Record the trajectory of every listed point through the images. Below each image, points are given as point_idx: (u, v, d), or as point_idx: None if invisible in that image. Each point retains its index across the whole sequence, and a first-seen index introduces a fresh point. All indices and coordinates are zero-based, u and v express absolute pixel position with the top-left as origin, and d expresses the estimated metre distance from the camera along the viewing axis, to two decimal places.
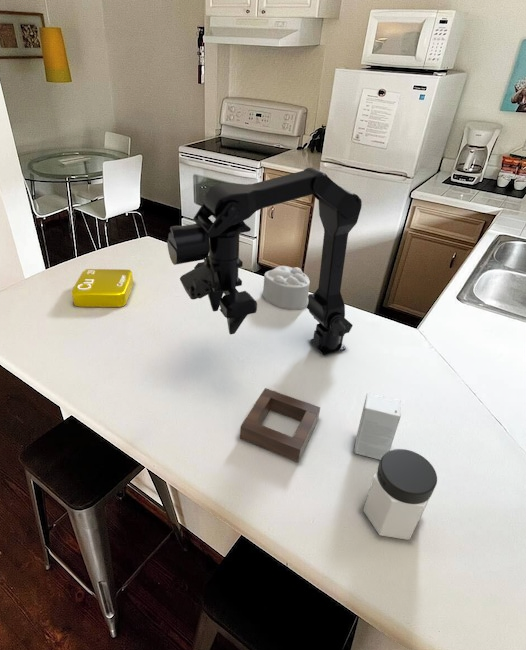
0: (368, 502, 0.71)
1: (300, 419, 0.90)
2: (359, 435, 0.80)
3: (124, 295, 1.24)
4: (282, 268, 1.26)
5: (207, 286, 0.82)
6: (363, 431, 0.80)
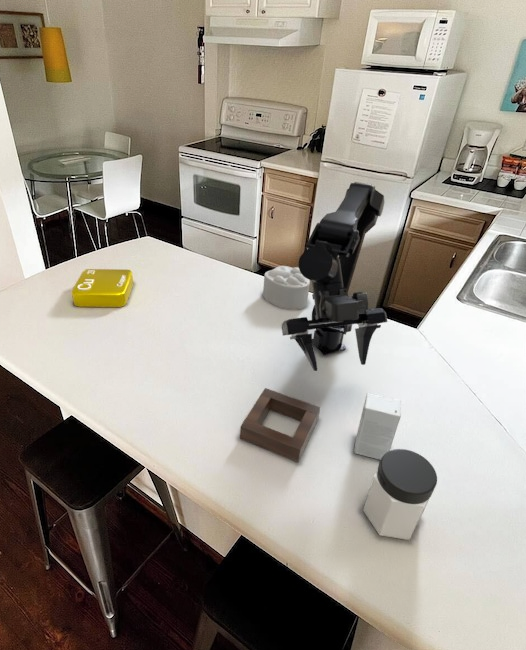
0: (368, 502, 0.71)
1: (300, 419, 0.90)
2: (359, 435, 0.80)
3: (124, 295, 1.24)
4: (282, 268, 1.26)
5: None
6: (363, 431, 0.80)
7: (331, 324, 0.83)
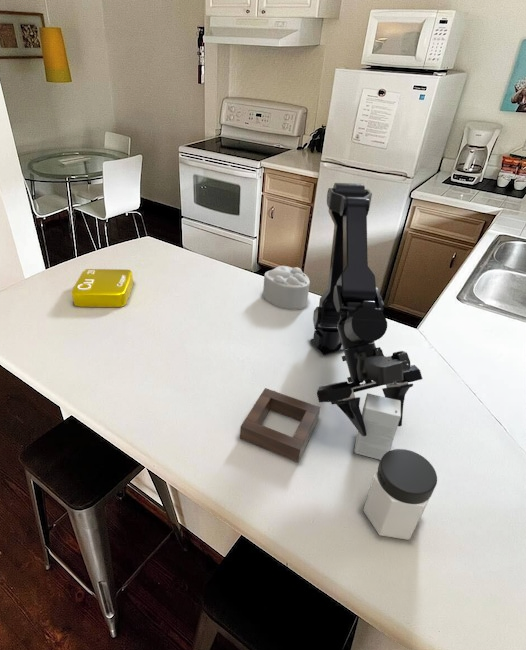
0: (368, 502, 0.71)
1: (300, 419, 0.90)
2: (359, 435, 0.80)
3: (124, 295, 1.24)
4: (282, 268, 1.26)
5: None
6: None
7: (364, 387, 0.80)
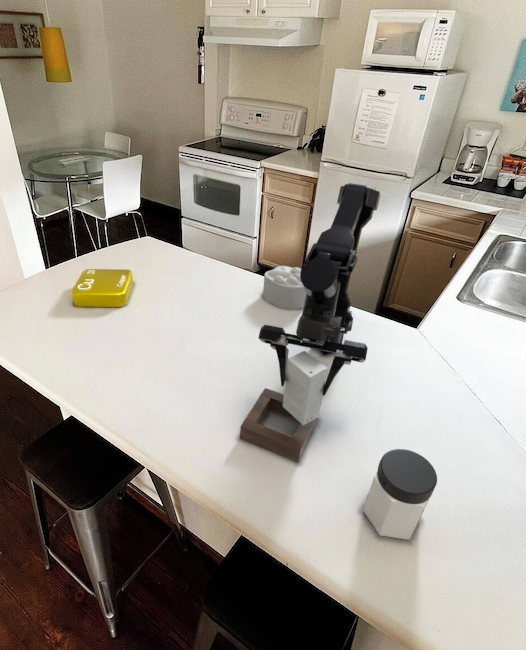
0: (368, 502, 0.71)
1: None
2: (285, 387, 0.81)
3: (124, 295, 1.24)
4: (282, 268, 1.26)
5: None
6: (287, 384, 0.80)
7: (303, 343, 0.79)
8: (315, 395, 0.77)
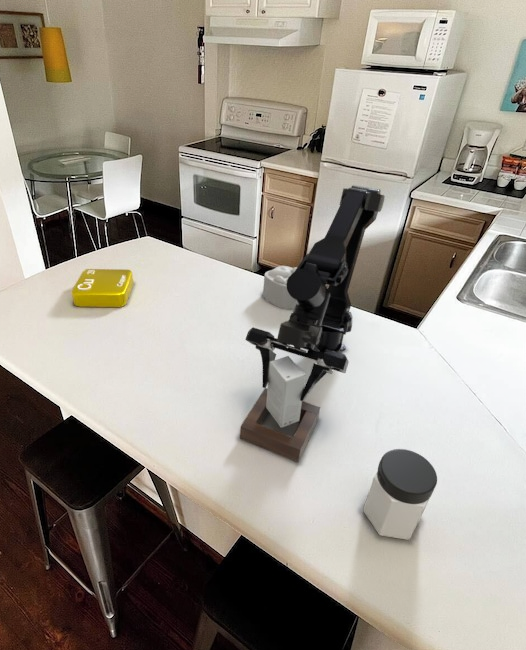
0: (368, 502, 0.71)
1: (300, 419, 0.90)
2: None
3: (124, 295, 1.24)
4: (282, 268, 1.26)
5: (320, 334, 0.76)
6: (269, 386, 0.84)
7: (288, 349, 0.82)
8: (293, 399, 0.80)
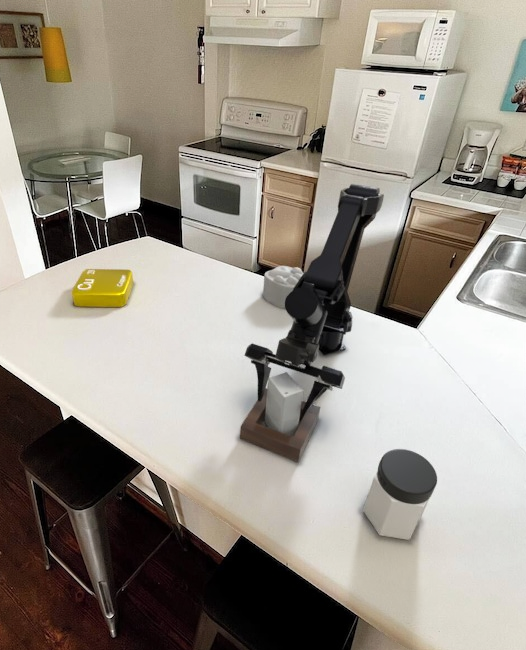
0: (368, 502, 0.71)
1: (300, 419, 0.90)
2: (266, 404, 0.87)
3: (124, 295, 1.24)
4: (282, 268, 1.26)
5: (317, 351, 0.78)
6: (267, 401, 0.86)
7: (289, 366, 0.84)
8: (291, 414, 0.82)
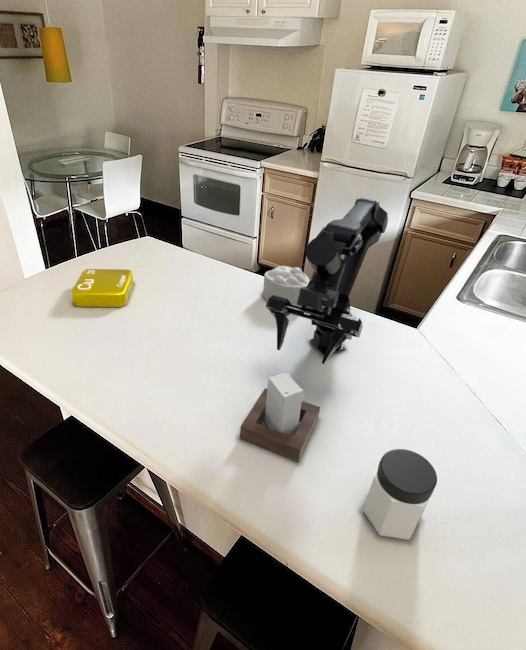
0: (368, 502, 0.71)
1: (300, 419, 0.90)
2: (266, 404, 0.87)
3: (124, 295, 1.24)
4: (282, 268, 1.26)
5: (337, 298, 0.82)
6: (267, 401, 0.86)
7: (310, 316, 0.88)
8: (291, 414, 0.82)
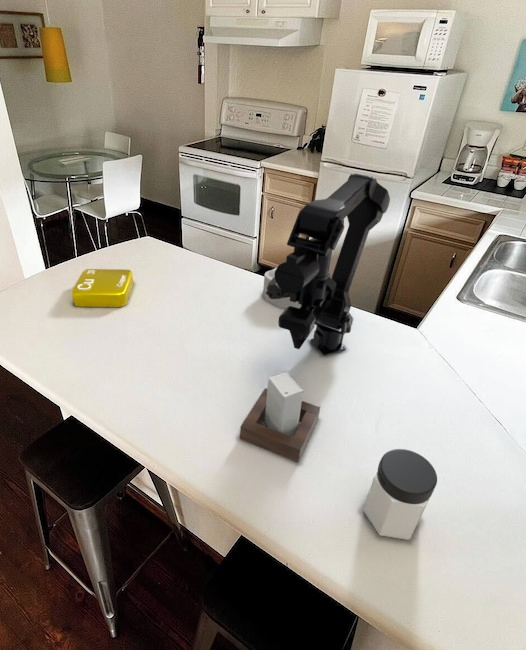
0: (368, 502, 0.71)
1: (300, 419, 0.90)
2: (266, 404, 0.87)
3: (124, 295, 1.24)
4: None
5: (279, 291, 0.86)
6: (267, 401, 0.86)
7: None
8: (291, 414, 0.82)
